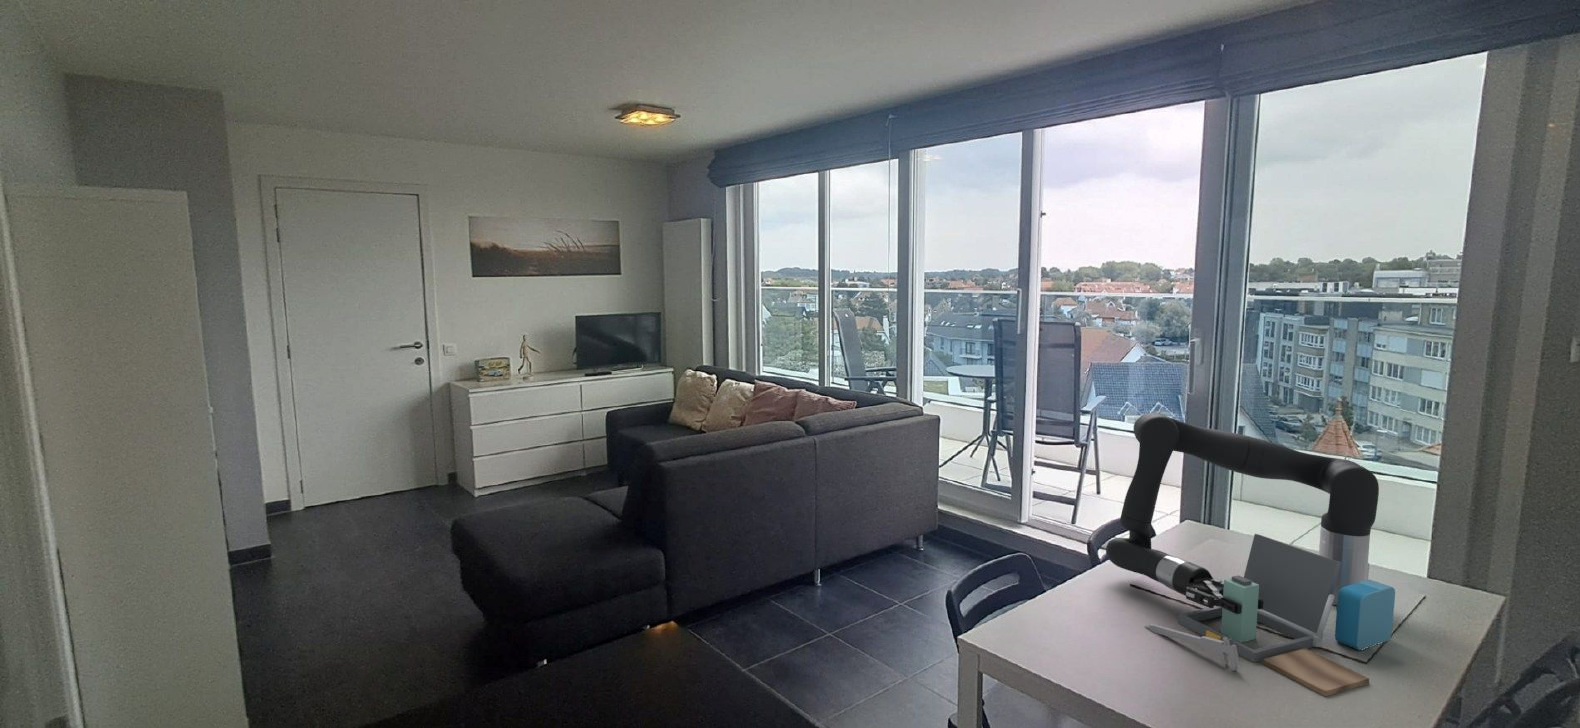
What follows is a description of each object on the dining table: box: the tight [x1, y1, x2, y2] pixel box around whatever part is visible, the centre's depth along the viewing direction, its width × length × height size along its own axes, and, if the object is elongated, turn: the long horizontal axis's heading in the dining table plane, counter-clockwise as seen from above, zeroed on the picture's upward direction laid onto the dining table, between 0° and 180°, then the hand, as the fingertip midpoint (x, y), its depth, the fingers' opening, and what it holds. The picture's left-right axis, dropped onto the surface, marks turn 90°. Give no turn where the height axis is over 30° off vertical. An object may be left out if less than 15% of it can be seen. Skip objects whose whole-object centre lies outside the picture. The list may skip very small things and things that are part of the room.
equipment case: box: [1177, 533, 1341, 663], centre depth 154 cm, size 24×19×18 cm
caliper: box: [1143, 623, 1239, 671], centre depth 149 cm, size 20×1×6 cm, turn 25°
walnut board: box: [1262, 648, 1370, 697], centre depth 139 cm, size 12×12×1 cm
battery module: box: [1220, 575, 1259, 644], centre depth 153 cm, size 4×4×13 cm
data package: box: [1334, 579, 1396, 651], centre depth 150 cm, size 12×4×12 cm, turn 114°
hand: (1251, 607), depth 151 cm, fingers open, 5 cm apart
